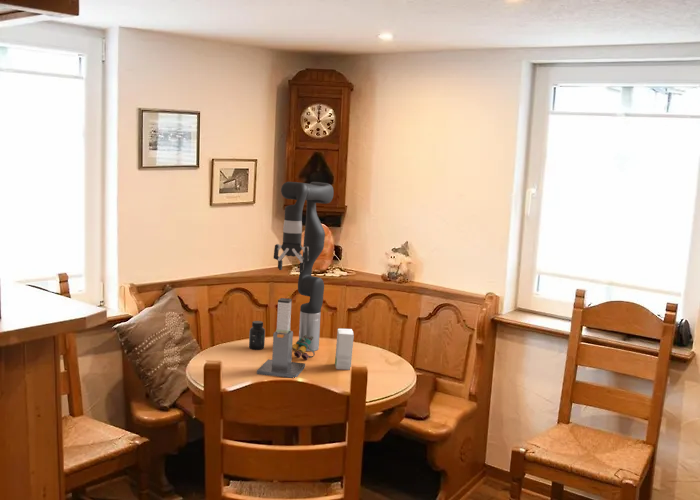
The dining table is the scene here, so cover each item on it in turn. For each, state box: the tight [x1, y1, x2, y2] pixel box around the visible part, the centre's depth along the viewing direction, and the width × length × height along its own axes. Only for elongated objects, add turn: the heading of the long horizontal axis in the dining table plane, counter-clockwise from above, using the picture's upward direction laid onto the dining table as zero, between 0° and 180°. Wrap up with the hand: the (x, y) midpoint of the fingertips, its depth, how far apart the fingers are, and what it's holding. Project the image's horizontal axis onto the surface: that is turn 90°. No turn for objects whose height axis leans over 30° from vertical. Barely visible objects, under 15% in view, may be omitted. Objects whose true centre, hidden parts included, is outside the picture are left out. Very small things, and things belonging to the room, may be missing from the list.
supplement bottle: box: [248, 320, 266, 351], centre depth 318 cm, size 7×7×12 cm
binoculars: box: [292, 335, 316, 361], centre depth 308 cm, size 9×9×10 cm
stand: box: [256, 330, 306, 379], centre depth 289 cm, size 16×16×16 cm
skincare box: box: [334, 328, 355, 371], centre depth 299 cm, size 8×7×16 cm
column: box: [275, 297, 293, 334], centre depth 287 cm, size 5×5×21 cm
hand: (290, 270), depth 291 cm, fingers open, 8 cm apart
